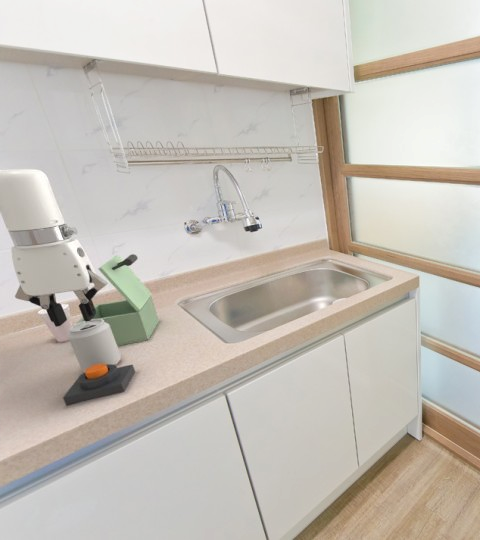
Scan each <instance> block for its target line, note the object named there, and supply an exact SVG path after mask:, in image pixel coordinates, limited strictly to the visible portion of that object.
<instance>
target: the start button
mask: <svg viewBox="0 0 480 540" xmlns="http://www.w3.org/2000/svg"><path fill="white" fill-rule="evenodd" d="M84 373H85V374H86V377H87V379H94V378H98V377H100V376H103V375H105V374H106V373H108V368H107V366H106V364H105V363H100V364H96V365H93V366H91V367H89V368H87V369H86V370H85V372H84Z"/></svg>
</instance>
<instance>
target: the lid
mask: <svg viewBox="0 0 480 540" xmlns="http://www.w3.org/2000/svg"><path fill="white" fill-rule="evenodd" d="M137 260H138V255H136V254H134V253H133V254H130V255H128V256H127V257H126V258H124V260H123V259H122V258H121V256H120V255H119V254H117V255H115V256H113V257H112V258H111V259H110V260H108V261H107V262H105V263H104V264H103V265H101V266H99V267H98V268H97V269H98V271H99V272H100V273H101V274H102V275H103V276H104V278H105V279H106V280H108V282H109V283H110V284H111V285H112V286H113V287H114V288H115V290H116V291H118V292H119V294H120V295H121V296H122V297H123V298H124V300H127V301H128V302H129V303H130V304H131V305H132V307H133V308H134V309H135V310H136V311H137V312H138V311H140V310H141V308H142V307H143V306H144V304H145V303H146V302H147V300H148V299H149V297H150V296H151V297H152V295H153V294H152V292H151V291H150V290H149V289H148V288H147V286H146V285H145V284H144V283H143V281H142V280H140V279H139V277H138V275H136V274H135V272H133V270H132V269H131V268H130V267H131V266H132V265H133V264H134V263H136V261H137Z"/></svg>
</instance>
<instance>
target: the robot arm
mask: <svg viewBox="0 0 480 540" xmlns="http://www.w3.org/2000/svg"><path fill="white" fill-rule="evenodd" d="M0 215H1V218H2V220H3V222H4V225H5V227H6V229H7V231H8V233H9V236H10V238H11V240H12V243H13V246H12V247H11V259H12V264H13V268H14V272H15V276H16V278H17V280H18V283H19V286H18V288H17V290H16V293H15V295H14V297H15V299H17V300H20V301H24V302H29V303H31V304H34V305H36V306H38V307H40V308H41V310H42V309H44V310H46V311H47V313H48V315H49V318H50V320H51V321H52V322H54V324H55V326H56V327H58V326H61V325H62V324H63V323H64V322H65V321H66V320H67V317H66V315H65V313H64V310H63V308H62V305H61V304H62V303H60V302H57V299H56V294H61V293H62V294H63V293H68V292H73V293H74V294H75V296H76V298H77V299H78V300H79V304H78V309H79V310H80V314H81V315H82V318H84V321H86V322H87V321H90V320H91V319H92V318H93V317H94V316H95V314H96V310H95V307H94V306H95V305H94V303H93V298H94V297H95V296H96V295H97V293H98V292H100V291H101V290H102V289H103V288H105V287H106V286H107V285H108V281H107V280H105V279H104V278H103V277H101V276H99V275H98V274H97V273H96V269H95V268H94V266H93V264H92V262H91V259H90V257H89V256H88V254H87V252H86V250H85V249H84V247H83V246H82V244H81V242H80V241H79V240H78V239H77V238H72V236H73V235H77V234H78V230H77V228H76V227H70V226H68V224H67V223H66V222H65V220H64V216H63V214H62V212H61V210H60V207H59V204H58V201H57V199H56V196H55V193H54V190H53V187H52V185H51V182H50V179H49V178H48V176H47V174H46V173H45V172H44V171H42V170H40V169H35V168H11V169H0ZM91 284H94V285H93V286H92V287H91V288H89V287H90V285H91Z"/></svg>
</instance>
